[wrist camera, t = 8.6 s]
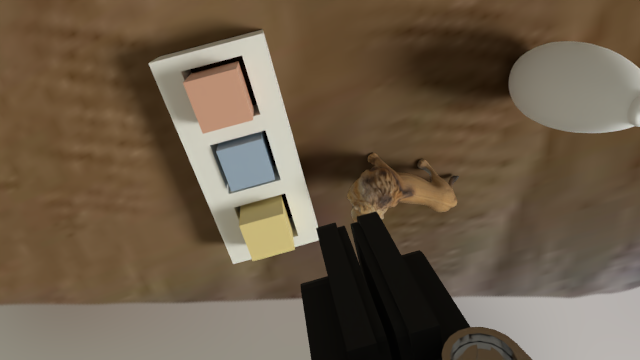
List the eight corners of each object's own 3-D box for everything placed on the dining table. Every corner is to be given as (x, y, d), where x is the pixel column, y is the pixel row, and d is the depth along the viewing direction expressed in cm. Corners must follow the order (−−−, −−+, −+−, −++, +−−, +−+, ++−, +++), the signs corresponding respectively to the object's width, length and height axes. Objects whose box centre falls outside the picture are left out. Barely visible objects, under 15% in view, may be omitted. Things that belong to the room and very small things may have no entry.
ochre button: (240, 205, 41) (238, 225, 37) (281, 194, 41) (283, 213, 37) (253, 239, 43) (252, 261, 39) (291, 228, 43) (295, 249, 39)
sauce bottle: (483, 110, 43) (616, 178, 27) (497, 35, 40) (658, 63, 24) (547, 107, 44) (712, 171, 28) (565, 34, 41) (764, 60, 25)
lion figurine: (334, 192, 45) (350, 235, 37) (338, 150, 43) (357, 185, 35) (451, 193, 48) (491, 233, 40) (461, 152, 45) (505, 186, 37)
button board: (159, 56, 36) (148, 63, 33) (262, 29, 36) (263, 33, 33) (235, 243, 46) (233, 264, 42) (316, 220, 46) (321, 239, 43)
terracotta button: (190, 73, 34) (182, 82, 31) (238, 61, 35) (236, 68, 31) (208, 120, 36) (202, 133, 33) (253, 107, 36) (253, 120, 33)
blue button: (219, 137, 40) (216, 151, 36) (261, 126, 40) (261, 138, 36) (233, 174, 42) (231, 191, 38) (273, 163, 42) (274, 179, 38)
